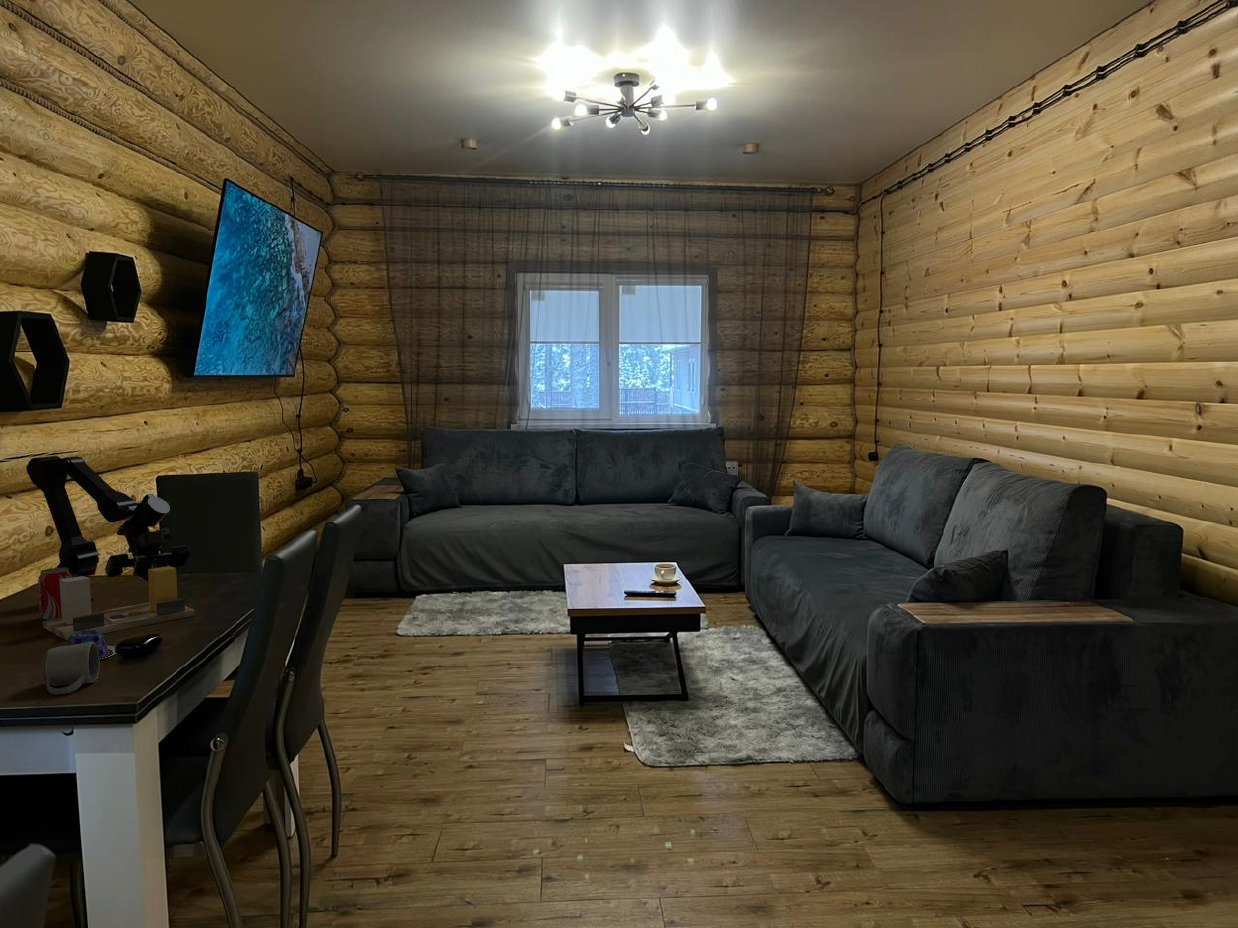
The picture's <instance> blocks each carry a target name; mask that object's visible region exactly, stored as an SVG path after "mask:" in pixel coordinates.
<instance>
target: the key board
mask: <svg viewBox="0 0 1238 928" xmlns="http://www.w3.org/2000/svg"><path fill="white" fill-rule="evenodd" d="M185 603H186V602H185V598H182V597H181V598H177V599H175V600H169V601H163V602H158V603H157V612H155V611H153V610H150V601H149V602H145V603H139V604H134V605H128V606H122V607H116V608H112V609H111V608H110V609H104V610H100V611H94V612H91V613H92V614H90V615H85V616H79V617H73V624H69V625H67V624H66V623H64V622H62V618H59V619H53V620H47V621H46V620H43V621H42V628H43V629H45V630H47V631H49V632H50V633H52V634H54V635H55V636H57V637H58V638H61V639H63V640H65V641H68V640H69V637H70V635H71V634H73V633H77V632H80V631H86V630H98V631H100V632H101V633H102V634H107V633H112V632H117V631H122V630H127V629H132V628H138V627H143V626H147V625H152V624H158V623H163V622H169V621H172V620H173V621H174V620H179V619H183V618H188V617H193V616H195V609H194V608H192V607H188V606H187V605H186V604H185Z"/></svg>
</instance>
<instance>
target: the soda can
mask: <svg viewBox="0 0 1238 928" xmlns="http://www.w3.org/2000/svg"><path fill="white" fill-rule="evenodd" d="M68 570H69V569H68V568H56V567H51V568H45V569H42V570H40V575H39V577H38V579H37V590H38V606H39V613H40V615H39V616H40V619H43V620H44V621H46V620H53V619H59V618H62V614H61V597H60V579H66V578H72V575H71V574H70V573H69V571H68Z"/></svg>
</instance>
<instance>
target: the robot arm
mask: <svg viewBox="0 0 1238 928" xmlns="http://www.w3.org/2000/svg"><path fill="white" fill-rule="evenodd" d="M25 469H26V472H27V474H28V477H29V479H30V481H31V482H32V484H33V485H34V486H35V487H37V488H38V489H39V490H40V491H42V493H43V495H44V497H45V501H46V504H47V507H48V509H49V512H50V515H51V517H52V521H53V523H54V526H55V529H56V531H57V535H58V538H59V540H60V543H61V544H60V547H59V551H58V559H59V563H58V565H56V567H55V568H68V569H69V570H68V571H69V573H70V574H71V575H72V578H73V577H80V576H85V577H87V578H88V577H89V576H95V575H96V571H97V568H98V565H99V562H100V558H99V556H100V553H99V551H98V549H97V546H96V542H95V541H94V540H90V541H88V540H87V539H86V538H85V537H84V536H83V534H82V532H81V528H80V525H79V522H78V520H77V518H76V515H75V512H74V509H73V505H72V504H71V501H70V498H69V494H68V492H67V488H66V483H67V478H68V476H69V477H70V478H71V479H72V480H73V481H74V482H75V483H76V484H77V485H78V486H79V487H81V489H82V490H84V491H85V492H86V494H87V495H89V496H90V497H91V498H92V499H93V500H94V501H95V502H96V504H97V511H99V513H100V514H101V516H102V517H103V519H105V521H107V522H109V523H117V522H123V521H124V522H123V523H122V524H120V526H119V528H118V529H117V531H116V535H117V536H121V537H122V536H123V537H124V538H125V540H126V542H127V544H128V549H127V550H128V552H129V554H131V555H132V557H133V558H129V555H128V554H127V553H120V554H113V555H109V557H108V559H107V562H106V565H105V566H104V567H105V568H104V571H105V575H106V577H108V578H113V577H120V576H122V574H123V573H124V569H127V568H133V573H132V575H133V576H134V577H136V576H137V577H139V578H141V579H143V580H145V581H146V582H148V583H149V581H148V569H153V568H160V567H167V565H168V566H170V567H173V568H178V567H183V566H185V565H186V564H187V562H188V560H189V557H190V555H191V553H192V551H191V550H190V548H189V547H188V545H185V544H184V545H176V546H170V550H169V552H164V553H160V552H162V550H163V546H162V545H163V544H165V543H166V542H169V541H170V540H172V533H171V530H170V528H169V527H164V528H160V529H159V530H153V531H151V530H150V528H154V527H156V526H157V525H158V524H159V523H160V522H161V521H162V520H163V519H164V517H166V516H167V514H168V513H169V512H170V511H171V507H170V504H169V503H168V502H167V501H165V500H164V499H163V498H161V497H158V496H156V495H154V493H146V494H145V496H144V497H143V498H142V500H141V501H140V502H137V501H136V499H133V498H132V497H131V496H129V495H128V494H126V493H124V492H122V491H118V490H116V489H115V488H113V487H111V486H110V485H109V483H108V482H106V481H105V480H104V479H103V478H102V477H101V476H100V475H99V474H97V473H96V472H95V471H94V469H92V467H90V466H89V465H88V464H87V463H86V460H85V459H84V458H83V457H80V456H79V455H78V456H65V457H63V458H62V457H59V456H57V455H50V456H37V457H32V458H30V459H29V461H28V463H27V465H26V467H25ZM93 600H94V597H92V596H91V601H93Z"/></svg>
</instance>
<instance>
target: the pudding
mask: <svg viewBox="0 0 1238 928" xmlns="http://www.w3.org/2000/svg"><path fill="white" fill-rule="evenodd" d="M88 642H94V643H95V644H96V646H97V648H98V652H99V658H100V659H99V661H100V660H104V659H106V658H109V657H112V656H114V655H116V654H117V653H115V647H116V646H114V645H107V642H106V640H105V638H104V633H101V632H100V631H98V630H86V631H80V632H77V633H73V634H71V635H70V637H69V640H67V644H66V646H69V645H75V644H82V643H88ZM108 649H110V650H112V652H113V654H112V655H110V656H108V655H109V654H110V653H109V651H108ZM106 654H108V655H106ZM104 656H105V658H102V657H104ZM106 656H108V657H106ZM101 658H102V659H101Z"/></svg>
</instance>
